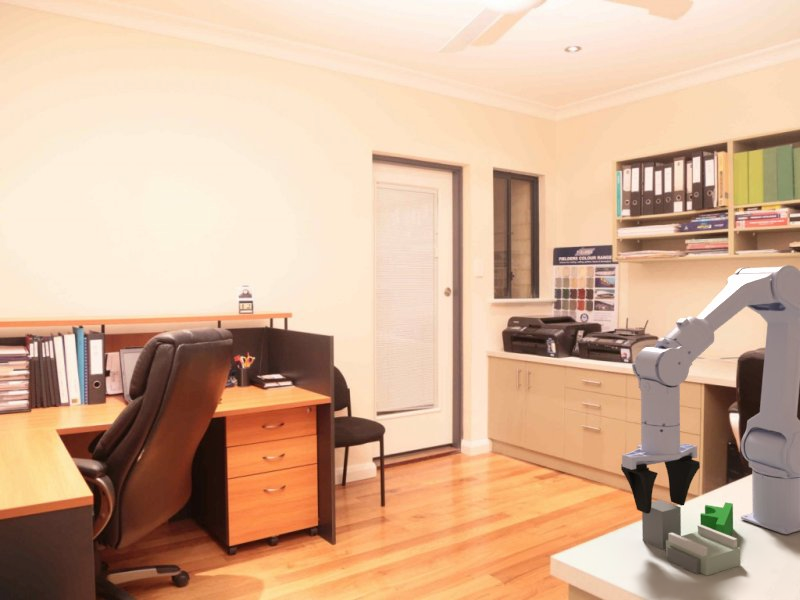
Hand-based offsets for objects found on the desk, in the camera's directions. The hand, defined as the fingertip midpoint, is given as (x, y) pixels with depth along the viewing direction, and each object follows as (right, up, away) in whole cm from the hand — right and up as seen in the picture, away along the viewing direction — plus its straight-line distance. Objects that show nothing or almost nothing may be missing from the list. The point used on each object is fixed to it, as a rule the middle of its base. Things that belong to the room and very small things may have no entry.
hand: (660, 507), depth 98 cm
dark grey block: (0, -6, 0) cm, 6 cm away
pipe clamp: (+10, -6, +1) cm, 11 cm away
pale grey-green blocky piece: (+3, -6, -7) cm, 9 cm away
